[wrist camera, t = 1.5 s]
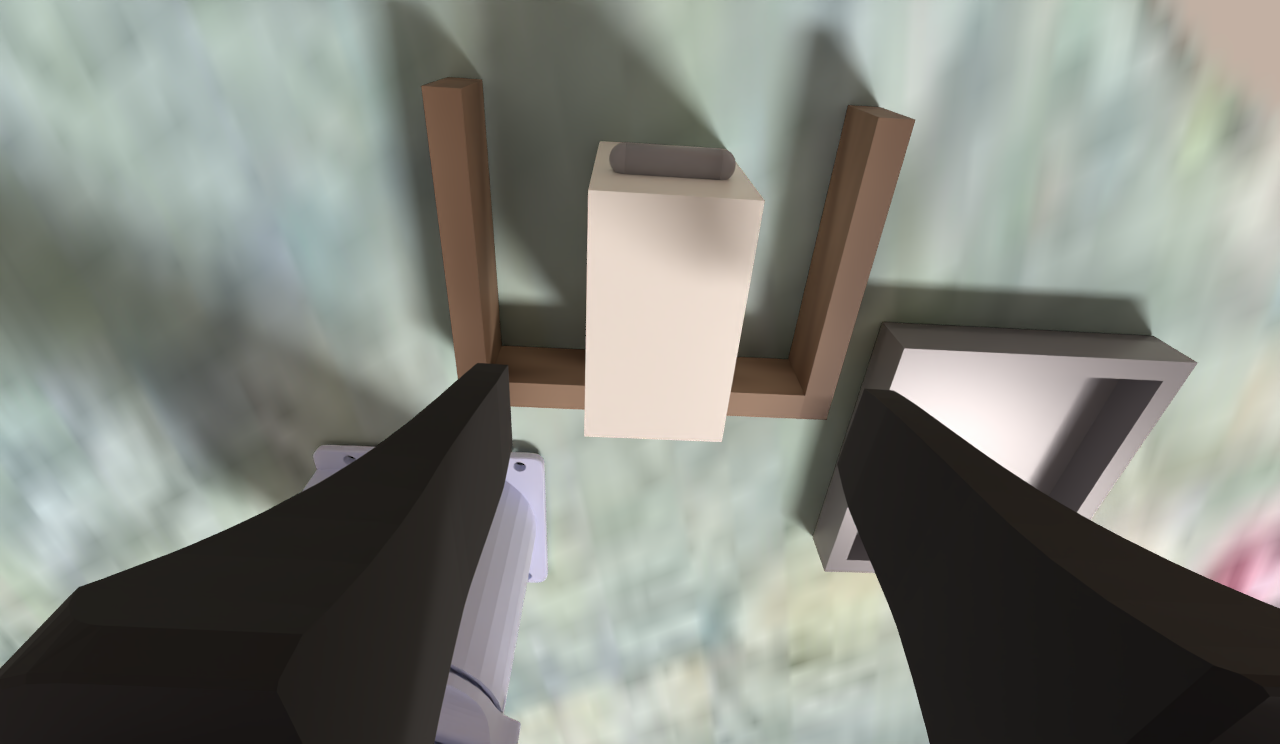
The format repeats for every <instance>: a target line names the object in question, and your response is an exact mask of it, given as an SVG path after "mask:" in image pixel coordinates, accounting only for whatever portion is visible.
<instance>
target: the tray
mask: <svg viewBox="0 0 1280 744" xmlns="http://www.w3.org/2000/svg"><path fill="white" fill-rule="evenodd" d="M1196 364H1197V362H1195V361H1194V360H1192V359H1191V358H1189V357H1187V356H1186V355H1184V354H1182V353H1181V352H1179V351H1177V350H1176V349H1174V348H1172V347H1171V346H1169V345H1168V344H1166V343H1164V342H1163V341H1161V340H1159V339H1158V338H1156V337H1154V336H1147V335H1128V334H1108V333H1089V332H1069V331H1050V330H1030V329H1011V328H991V327H972V326H952V325H933V324H913V323H894V322H882V325H881V328H880V331H879V334H878V337H877V340H876V343H875V346H874V349H873V352H872V355H871V358H870V362H869V365H868V368H867V371H866V374H865V377H864V380H863V383H862V386H861V389H860V392H859V395H858V399H857V402H856V405H855V408H854V411H853V414H852V417H851V420H850V423H849V426H848V429H847V432H846V436H845V439H844V442H843V445H842V448H841V451H840V454H839V457H840V455H841V452H842V449H843V446H844V443H845V441H846V438H847V435H848V432H849V430H850V427H851V424H852V421H853V419H854V416H855V413H856V410H857V407H858V405H859V402H860V399H861V396H862V394H863V391H864V388H865V389H880V390H894V391H896V392H897V393H899V394H901V395H902V396H904V397H905V398H907V399H908V400H910V401H911V402H913V403H914V404H916V405H917V406H919V407H920V408H921V409H923V410H924V411H926V412H927V413H929V414H930V415H931V416H933V417H934V418H935V419H937V420H938V421H940V422H941V423H942V424H944V425H945V426H946V427H948V428H949V429H951V430H952V431H953V432H955V433H956V434H957V435H959V436H960V437H962V438H963V439H964V440H966V441H967V442H968V443H970V444H971V445H973V446H974V447H975V448H977V449H978V450H980V451H981V452H983V453H984V454H985V455H987V456H988V457H990V458H991V459H993V460H994V461H996V462H997V463H998V464H1000V465H1001V466H1003V467H1004V468H1006V469H1007V470H1009V471H1010V472H1012V473H1013V474H1015V475H1016V476H1018V477H1020V478H1021V479H1023V480H1024V481H1026V482H1027V483H1029V484H1030V485H1032V486H1033V487H1035V488H1036V489H1038V490H1040V491H1041V492H1043V493H1044V494H1046V495H1048V496H1049V497H1051V498H1053V499H1054V500H1056V501H1058V502H1059V503H1061V504H1063V505H1065V506H1066V507H1068V508H1070V509H1072V510H1073V511H1075V512H1077V513H1079V514H1080V515H1082V516H1084V517H1086V518H1087V519H1089V520H1091V518H1092V517H1093V515H1094V514H1095V512H1096V511H1097V510H1098V508H1099V507H1100V505H1101V504H1102V502H1103V501H1104V499H1105V498H1106V496H1107V495H1108V493H1109V492H1110V490H1111V489H1112V488H1113V486H1114V485H1115V483H1116V482H1117V480H1118V479H1119V477H1120V476H1121V474H1122V473H1123V471H1124V470H1125V469H1126V467H1127V466H1128V464H1129V463H1130V461H1131V460H1132V458H1133V457H1134V455H1135V454H1136V452H1137V451H1138V449H1139V448H1140V447H1141V445H1142V444H1143V442H1144V441H1145V439H1146V438H1147V436H1148V435H1149V433H1150V432H1151V430H1152V429H1153V427H1154V426H1155V425H1156V423H1157V422H1158V420H1159V419H1160V417H1161V416H1162V414H1163V413H1164V411H1165V410H1166V408H1167V407H1168V406H1169V404H1170V403H1171V401H1172V400H1173V398H1174V397H1175V395H1176V394H1177V392H1178V391H1179V389H1180V388H1181V386H1182V385H1183V384H1184V382H1185V381H1186V379H1187V378H1188V376H1189V375H1190V373H1191V372H1192V370H1193V369H1194V367H1195V366H1196ZM839 457H838V460H839ZM838 460H837V463H838ZM837 463H836V466H835V469H834V472H833V476H832V479H831V482H830V485H829V488H828V491H827V494H826V497H825V500H824V503H823V506H822V509H821V513H820V516H819V519H818V522H817V525H816V528H815V531H814V534H813V540H814V543H815V545H816V548H817V551H818V554H819V557H820V560H821V562H822V565H823V568H824V571H828V572H862V573H875V571H874V569H873V566H872V564H871V562H870V559H869V557H868V555H867V552H866V550H865V548H864V545H863V543H862V540H861V538H860V536H859V533H858V531H857V528H856V526H855V523H854V521H853V519H852V516H851V513H850V511H849V508H848V505H847V502H846V498H845V494H844V491H843V487H842V483H841V479H840V474H839V470H838V466H837Z"/></svg>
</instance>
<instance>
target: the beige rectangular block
mask: <svg viewBox="0 0 1280 744" xmlns="http://www.w3.org/2000/svg"><path fill="white" fill-rule="evenodd" d="M764 202H765V200H764V199H763V198H762V196H761V195H760V194H759V192H758V191H757V190H756V188H755V187H754V186H753V184H752V183H751V181H750V180H749V179H748V177H747V176H746V175H745V173H744V172H743V171H742V169H741V168H740V167H739V165H738V164H737V163H736V161H735V158H734V156H733V154H732V153H731V152H729V151H728V150H727V149H722V148H707V147H692V146H677V145H661V144H646V143H631V142H607V141H600V142H599V146H598V151H597V155H596V159H595V163H594V168H593V172H592V176H591V180H590V184H589V189H588V234H587V298H586V363H585V427H584V436H588V437H613V438H638V439H663V440H688V441H712V442H722V437H723V431H724V426H725V420H726V415H727V409H728V403H729V398H730V392H731V387H732V381H733V375H734V370H735V364H736V359H737V353H738V348H739V342H740V336H741V331H742V325H743V320H744V314H745V308H746V303H747V297H748V292H749V286H750V281H751V275H752V269H753V264H754V258H755V253H756V247H757V241H758V236H759V230H760V225H761V219H762V214H763V208H764Z"/></svg>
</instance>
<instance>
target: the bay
mask: <svg viewBox="0 0 1280 744" xmlns="http://www.w3.org/2000/svg"><path fill="white" fill-rule="evenodd" d="M421 87H422V95H423V103H424V111H425V119H426V127H427V135H428V143H429V151H430V159H431V167H432V175H433V183H434V191H435V199H436V207H437V215H438V223H439V231H440V239H441V247H442V255H443V263H444V271H445V279H446V287H447V295H448V303H449V311H450V319H451V327H452V335H453V343H454V351H455V359H456V367H457V374H458V379H459V378H460V377H461V376H462V375H464V374H465V373H466V372H467V371H468V370H469V369H471V368H472V367H473V366H474V365H475V364H477V363H487V364H502V365H508V369H509V389H510V406H515V407H538V408H562V409H585V363H586V350H584V349H563V348H542V347H521V346H502V341H501V327H500V314H499V300H498V287H497V273H496V260H495V246H494V233H493V219H492V206H491V192H490V179H489V165H488V152H487V138H486V124H485V111H484V97H483V84H482V79H468V78H453V77H447V78H444V79H441V80H437V81H434V82H431V83H428V84H425V85H422V86H421ZM914 123H915V120H914V119H912V118H909V117H906V116H903V115H900V114H898V113H895V112H892V111H889V110H887V109H884V108H881V107H869V106H855V105H848V108H847V112H846V116H845V120H844V125H843V129H842V133H841V137H840V142H839V146H838V150H837V154H836V159H835V163H834V167H833V171H832V176H831V180H830V184H829V188H828V193H827V197H826V201H825V205H824V210H823V214H822V218H821V222H820V227H819V231H818V235H817V239H816V244H815V248H814V252H813V256H812V261H811V265H810V269H809V273H808V277H807V282H806V286H805V290H804V294H803V299H802V303H801V307H800V311H799V316H798V320H797V324H796V328H795V333H794V337H793V341H792V345H791V350H790V354H789V358H788V359H773V358H752V357H737V359H736V364H735V370H734V375H733V381H732V387H731V392H730V398H729V403H728V409H727V415H726V416H749V417H772V418H796V419H819V420H827V416H828V413H829V409H830V406H831V403H832V399H833V396H834V393H835V389H836V386H837V382H838V379H839V376H840V372H841V369H842V366H843V362H844V359H845V355H846V352H847V349H848V345H849V342H850V339H851V335H852V332H853V329H854V325H855V322H856V318H857V315H858V312H859V308H860V305H861V302H862V298H863V295H864V291H865V288H866V285H867V281H868V278H869V275H870V271H871V268H872V264H873V261H874V258H875V254H876V251H877V248H878V244H879V241H880V237H881V234H882V231H883V227H884V224H885V221H886V217H887V214H888V211H889V207H890V204H891V200H892V197H893V194H894V190H895V187H896V184H897V180H898V177H899V173H900V170H901V167H902V163H903V160H904V157H905V153H906V150H907V146H908V143H909V140H910V136H911V133H912V130H913V126H914Z"/></svg>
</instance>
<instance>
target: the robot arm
mask: <svg viewBox="0 0 1280 744" xmlns="http://www.w3.org/2000/svg"><path fill="white" fill-rule="evenodd" d="M511 449H512V427H511V408H510V389H509V369H508V365H502V364H487V363H477V364H475V365H474V366H473V367H472V368H471V369H469V370H468V371H467V372H466V373H465V374H464V375H462V376H461V377H460V378H459V379H458V380H457V381H456V382H455V383H453V384H452V385H451V386H450V387H449V388H448V389H447V390H446V391H444V392H443V393H442V394H441V395H440V396H439V397H438V398H437V399H435V400H434V401H433V402H432V403H431V404H429V405H428V406H427V407H426V408H425V409H423V410H422V411H421V412H420V413H419V414H417V415H416V416H415V417H414V418H413V419H412V420H410V421H409V422H408V423H406V424H405V425H404V426H403V427H401V428H400V429H399V430H397V431H396V432H395V433H393V434H392V435H391V436H389V437H388V438H387V439H385V440H384V441H383V442H381V443H380V444H379V445H377V446H376V447H370V446H345V445H321V446H319V447H318V448H317V450H316V451H315V452H314V454H313V459H314V462H315V466H316V469H317V470H316V471H315V473H314V474H313V476H312V477H311V479H310V480H309V482H308V483H307V485H306V486H305V487H304V489H303V490H302V492H301V493H299V494H297V495H295V496H293V497H291V498H289V499H287V500H286V501H284V502H282V503H280V504H278V505H276V506H274V507H272V508H271V509H269V510H267V511H265V512H263V513H261V514H259V515H257V516H255V517H252V518H250V519H248V520H246V521H244V522H242V523H240V524H237V525H235V526H233V527H231V528H229V529H227V530H224V531H222V532H220V533H217V534H215V535H213V536H211V537H208V538H206V539H204V540H201V541H199V542H197V543H194V544H192V545H190V546H187V547H185V548H182V549H180V550H177V551H175V552H173V553H170V554H167V555H165V556H162V557H159V558H157V559H154V560H151V561H149V562H146V563H143V564H141V565H138V566H135V567H133V568H130V569H127V570H125V571H122V572H120V573H117V574H114V575H112V576H109V577H106V578H104V579H101V580H98V581H95V582H92V583H89V584H87V585H84V586H81V587H79V588H78V589H77V590H75V591H74V592H73V593H72V594H71V595H70V596H69V597H68V598H67V599H66V600H65V601H64V603H63V604H62V605H61V606H60V607H59V608H58V609H57V610H56V611H55V612H54V613H53V614H52V615H51V616H50V617H49V618H48V619H47V620H46V621H45V622H44V623H43V624H42V625H41V626H40V628H39V629H38V630H37V631H36V632H35V633H34V634H33V635H32V636H31V637H30V638H29V639H28V640H27V641H26V642H25V643H24V644H23V645H22V646H21V647H20V648H19V649H18V650H17V651H16V653H15V654H14V655H13V656H12V657H11V658H10V659H9V660H8V661H7V662H6V663H5V664H4V665H3V666H2V667H1V668H0V744H518V738H519V732H520V725H521V724H520V722H519V721H516V720H514V719H512V718H509V717H508V716H506V715H504V709H505V703H506V697H507V692H508V686H509V681H510V675H511V670H512V664H513V659H514V653H515V648H516V642H517V637H518V631H519V625H520V620H521V614H522V609H523V603H524V598H525V592H526V587H527V582H542V581H544V580H545V579H546V578H547V574H548V555H547V524H546V493H545V463H544V459H543V458H542V457H541V456H540V455H538V454H536V453H525V452H511ZM349 456H352V457H354V458H355V459H352V458H350V457H349ZM516 462H521V463H523V464H525V465H518V464H517V463H516ZM837 466H838V470H839V474H840V479H841V483H842V487H843V491H844V494H845V498H846V502H847V505H848V508H849V511H850V513H851V516H852V519H853V521H854V523H855V526H856V528H857V531H858V533H859V536H860V538H861V540H862V543H863V545H864V548H865V550H866V552H867V555H868V557H869V559H870V562H871V564H872V566H873V569H874V571H875V574H876V576H877V578H878V581H879V583H880V585H881V588H882V590H883V592H884V595H885V597H886V600H887V602H888V604H889V607H890V610H891V612H892V615H893V618H894V620H895V623H896V626H897V629H898V632H899V635H900V638H901V642H902V645H903V648H904V652H905V655H906V658H907V662H908V665H909V668H910V672H911V675H912V678H913V682H914V686H915V689H916V693H917V697H918V700H919V704H920V708H921V711H922V715H923V719H924V723H925V726H926V730H927V734H928V738H929V742H930V744H1280V608H1277V607H1274V606H1272V605H1270V604H1267V603H1265V602H1262V601H1260V600H1257V599H1255V598H1253V597H1250V596H1248V595H1246V594H1243V593H1241V592H1239V591H1236V590H1234V589H1232V588H1229V587H1227V586H1225V585H1222V584H1220V583H1218V582H1215V581H1213V580H1211V579H1208V578H1206V577H1204V576H1202V575H1199V574H1197V573H1195V572H1193V571H1191V570H1188V569H1186V568H1184V567H1182V566H1180V565H1177V564H1175V563H1173V562H1171V561H1169V560H1167V559H1165V558H1163V557H1161V556H1159V555H1157V554H1155V553H1153V552H1151V551H1149V550H1147V549H1145V548H1143V547H1141V546H1139V545H1137V544H1135V543H1132V542H1130V541H1128V540H1126V539H1124V538H1122V537H1121V536H1119V535H1117V534H1115V533H1113V532H1111V531H1109V530H1107V529H1105V528H1104V527H1102V526H1100V525H1098V524H1096V523H1094V522H1093V521H1091V520H1089V519H1087V518H1086V517H1084V516H1082V515H1080V514H1079V513H1077V512H1075V511H1073V510H1072V509H1070V508H1068V507H1066V506H1065V505H1063V504H1061V503H1059V502H1058V501H1056V500H1054V499H1053V498H1051V497H1049V496H1048V495H1046V494H1044V493H1043V492H1041V491H1040V490H1038V489H1036V488H1035V487H1033V486H1032V485H1030V484H1029V483H1027V482H1026V481H1024V480H1023V479H1021V478H1020V477H1018V476H1016V475H1015V474H1013V473H1012V472H1010V471H1009V470H1007V469H1006V468H1004V467H1003V466H1001V465H1000V464H998V463H997V462H996V461H994V460H993V459H991V458H990V457H988V456H987V455H985V454H984V453H983V452H981V451H980V450H978V449H977V448H975V447H974V446H973V445H971V444H970V443H968V442H967V441H966V440H964V439H963V438H962V437H960V436H959V435H957V434H956V433H955V432H953V431H952V430H951V429H949V428H948V427H946V426H945V425H944V424H942V423H941V422H940V421H938V420H937V419H935V418H934V417H933V416H931V415H930V414H929V413H927V412H926V411H924V410H923V409H921V408H920V407H919V406H917V405H916V404H914V403H913V402H911V401H910V400H908V399H907V398H905V397H904V396H902V395H901V394H899V393H897V392H896V391H894V390H880V389H865V388H864V391H863V394H862V396H861V399H860V402H859V405H858V407H857V410H856V413H855V416H854V419H853V421H852V424H851V427H850V430H849V432H848V435H847V438H846V441H845V443H844V446H843V449H842V452H841V455H840V457H839V460H838V463H837Z"/></svg>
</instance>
